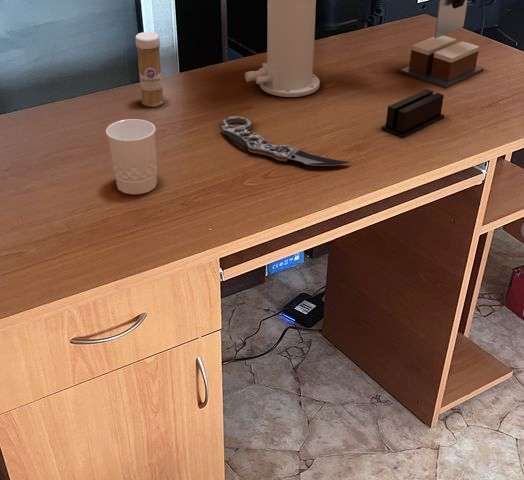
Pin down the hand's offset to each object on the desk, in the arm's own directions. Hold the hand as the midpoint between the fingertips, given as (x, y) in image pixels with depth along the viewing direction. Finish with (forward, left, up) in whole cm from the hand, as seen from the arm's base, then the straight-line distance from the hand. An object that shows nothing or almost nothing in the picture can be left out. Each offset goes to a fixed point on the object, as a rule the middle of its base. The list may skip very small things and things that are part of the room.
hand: (453, 4), depth 163 cm
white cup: (-76, -22, -14) cm, 81 cm away
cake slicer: (0, 0, -6) cm, 6 cm away
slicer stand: (-20, -20, -14) cm, 32 cm away
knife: (-49, -19, -14) cm, 55 cm away
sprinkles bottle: (-63, +9, -14) cm, 65 cm away
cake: (0, 0, -14) cm, 14 cm away
